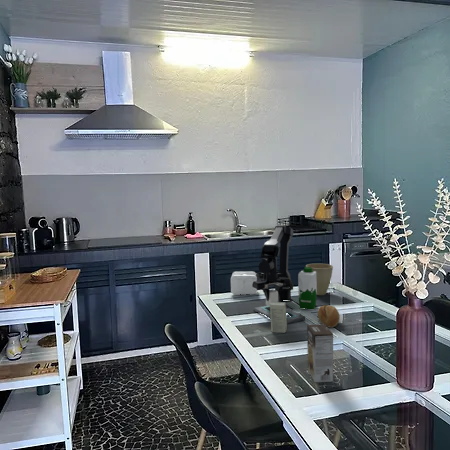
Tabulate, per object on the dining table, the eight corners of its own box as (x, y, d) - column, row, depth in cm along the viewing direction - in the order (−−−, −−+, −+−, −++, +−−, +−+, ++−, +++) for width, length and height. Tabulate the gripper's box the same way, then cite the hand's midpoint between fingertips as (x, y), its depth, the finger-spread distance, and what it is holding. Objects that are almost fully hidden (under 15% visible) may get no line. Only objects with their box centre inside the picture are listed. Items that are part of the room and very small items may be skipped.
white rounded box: (257, 290, 247) (257, 271, 246) (257, 295, 237) (256, 275, 235) (232, 290, 249) (232, 271, 248) (230, 295, 239) (230, 275, 237)
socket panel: (278, 306, 215) (277, 303, 215) (305, 319, 193) (305, 316, 193) (254, 310, 209) (253, 307, 209) (279, 325, 187) (279, 321, 187)
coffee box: (307, 370, 143) (306, 324, 141) (325, 369, 143) (325, 323, 141) (314, 382, 134) (313, 334, 132) (333, 381, 134) (333, 333, 132)
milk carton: (317, 305, 214) (317, 267, 212) (314, 310, 206) (314, 271, 204) (300, 304, 217) (300, 266, 215) (297, 309, 209) (296, 270, 207)
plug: (273, 303, 209) (273, 288, 208) (278, 305, 205) (278, 290, 204) (265, 304, 207) (265, 289, 207) (270, 307, 203) (270, 291, 202)
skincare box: (287, 329, 181) (286, 302, 180) (285, 333, 177) (284, 305, 176) (272, 328, 184) (272, 301, 182) (270, 331, 179) (269, 304, 178)
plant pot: (330, 298, 227) (330, 269, 225) (303, 295, 233) (302, 267, 231) (335, 291, 240) (335, 263, 238) (309, 289, 246) (309, 262, 245)
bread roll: (319, 329, 181) (319, 311, 180) (315, 318, 195) (315, 301, 194) (342, 329, 180) (342, 311, 179) (336, 318, 194) (336, 301, 193)
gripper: (278, 264, 215) (279, 293, 217) (246, 268, 208) (247, 298, 209) (290, 267, 205) (291, 298, 207) (257, 272, 198) (258, 304, 199)
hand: (271, 300), depth 206 cm, fingers closed on plug, 4 cm apart
